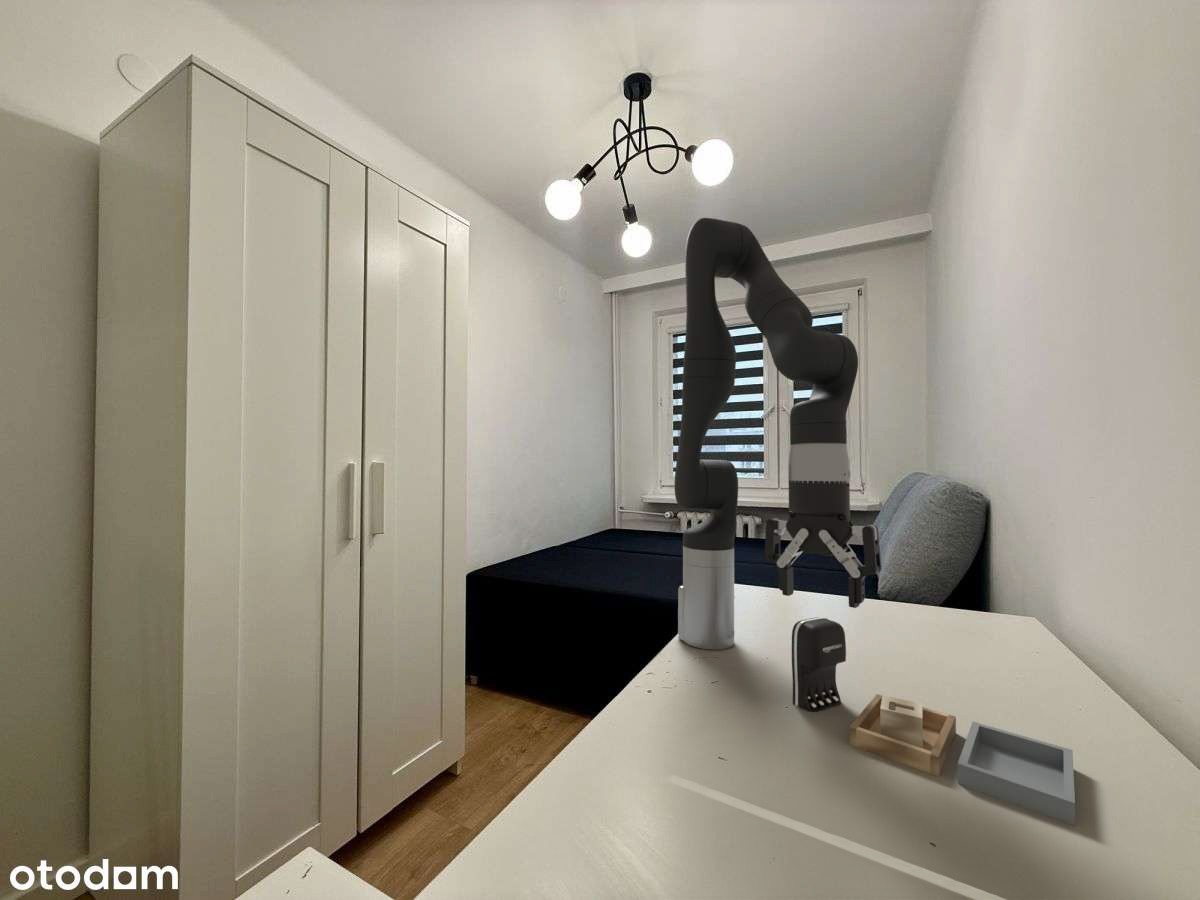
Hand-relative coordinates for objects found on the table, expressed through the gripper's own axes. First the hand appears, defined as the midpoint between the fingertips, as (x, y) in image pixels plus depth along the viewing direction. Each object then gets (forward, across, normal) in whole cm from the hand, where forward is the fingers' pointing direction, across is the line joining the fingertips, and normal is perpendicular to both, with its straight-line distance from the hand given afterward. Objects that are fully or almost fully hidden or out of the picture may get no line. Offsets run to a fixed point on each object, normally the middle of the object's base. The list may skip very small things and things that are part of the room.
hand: (819, 600), depth 66 cm
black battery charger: (+14, 0, 0) cm, 14 cm away
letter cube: (+14, +10, -3) cm, 17 cm away
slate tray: (+14, +20, -2) cm, 25 cm away
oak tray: (+14, +10, -2) cm, 17 cm away
